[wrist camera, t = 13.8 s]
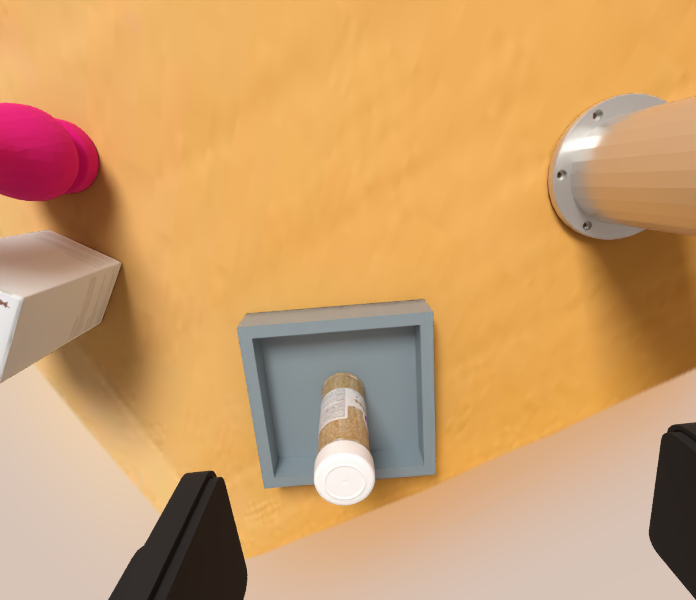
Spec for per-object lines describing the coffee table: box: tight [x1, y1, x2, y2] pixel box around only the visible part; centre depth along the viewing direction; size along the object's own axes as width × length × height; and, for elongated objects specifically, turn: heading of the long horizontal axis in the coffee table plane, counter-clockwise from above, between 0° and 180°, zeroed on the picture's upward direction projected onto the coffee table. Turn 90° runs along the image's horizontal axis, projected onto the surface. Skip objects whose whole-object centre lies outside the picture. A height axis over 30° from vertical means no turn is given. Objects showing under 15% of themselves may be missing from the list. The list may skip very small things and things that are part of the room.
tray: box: [237, 299, 436, 488], centre depth 40 cm, size 18×18×4 cm
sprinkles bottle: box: [314, 372, 375, 505], centre depth 35 cm, size 5×5×14 cm
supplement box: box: [0, 230, 122, 383], centre depth 32 cm, size 7×7×13 cm
